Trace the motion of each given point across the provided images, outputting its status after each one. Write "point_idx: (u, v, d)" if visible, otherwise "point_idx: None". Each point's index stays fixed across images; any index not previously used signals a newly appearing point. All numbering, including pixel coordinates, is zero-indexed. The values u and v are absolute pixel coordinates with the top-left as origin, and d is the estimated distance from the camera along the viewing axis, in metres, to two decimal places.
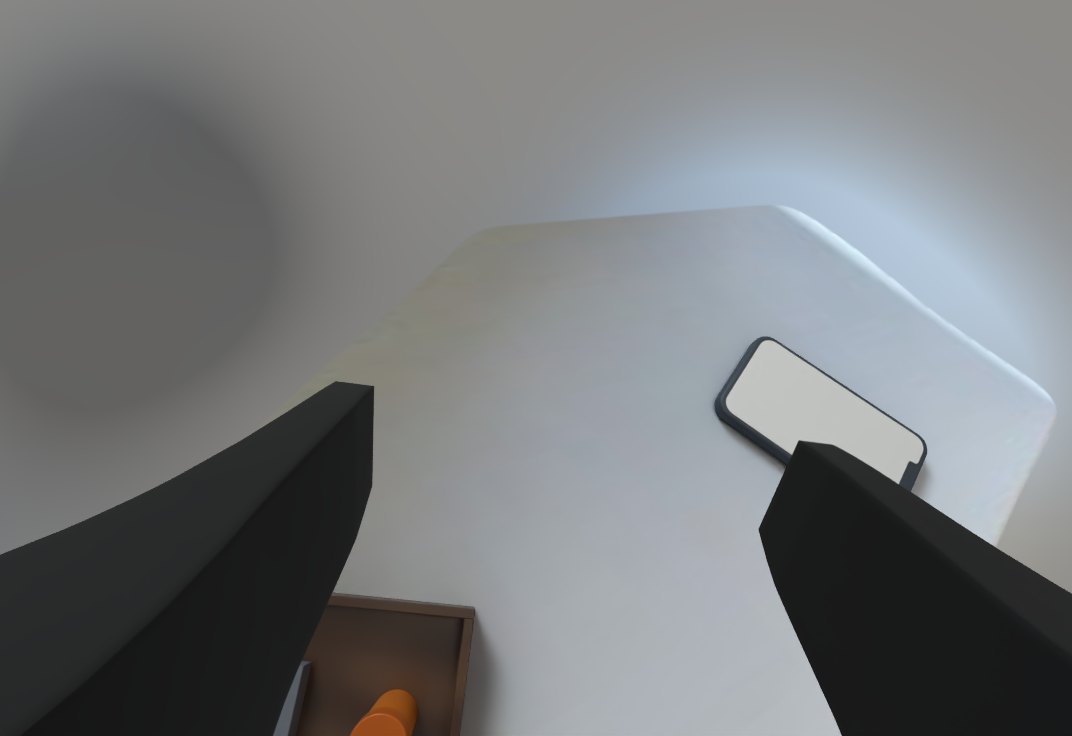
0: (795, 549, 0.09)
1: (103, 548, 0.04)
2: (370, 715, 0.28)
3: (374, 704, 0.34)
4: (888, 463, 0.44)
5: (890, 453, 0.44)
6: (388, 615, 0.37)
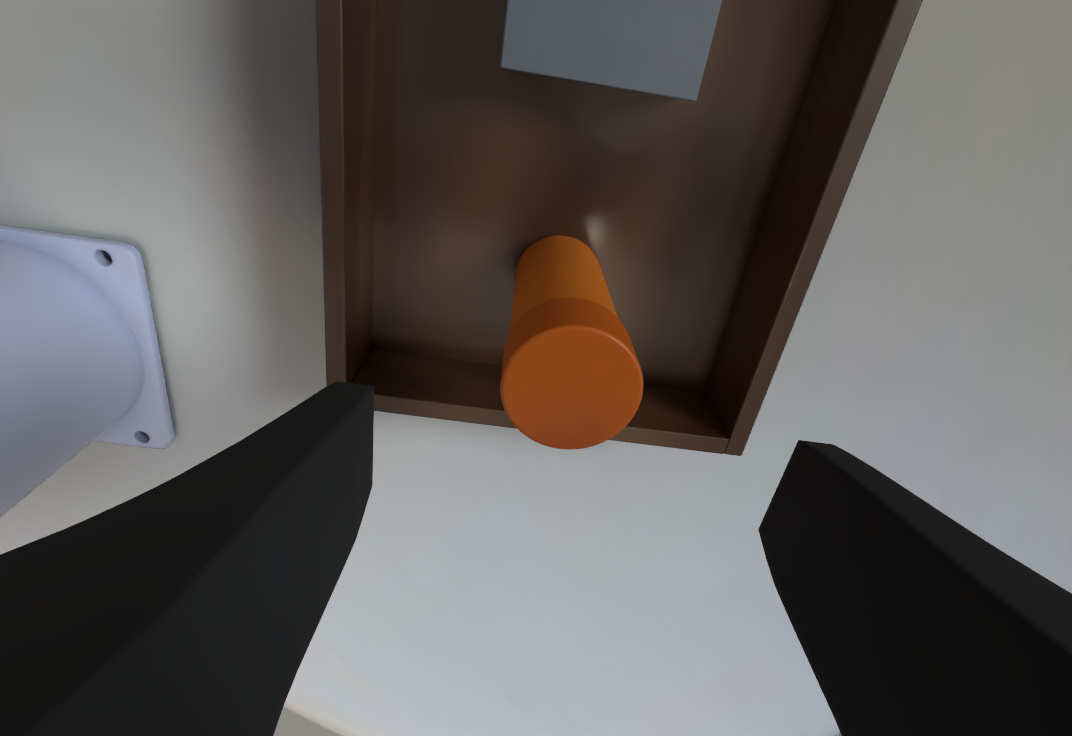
0: (795, 549, 0.09)
1: (103, 548, 0.04)
2: (640, 372, 0.11)
3: (591, 259, 0.16)
4: None
5: None
6: (735, 258, 0.18)
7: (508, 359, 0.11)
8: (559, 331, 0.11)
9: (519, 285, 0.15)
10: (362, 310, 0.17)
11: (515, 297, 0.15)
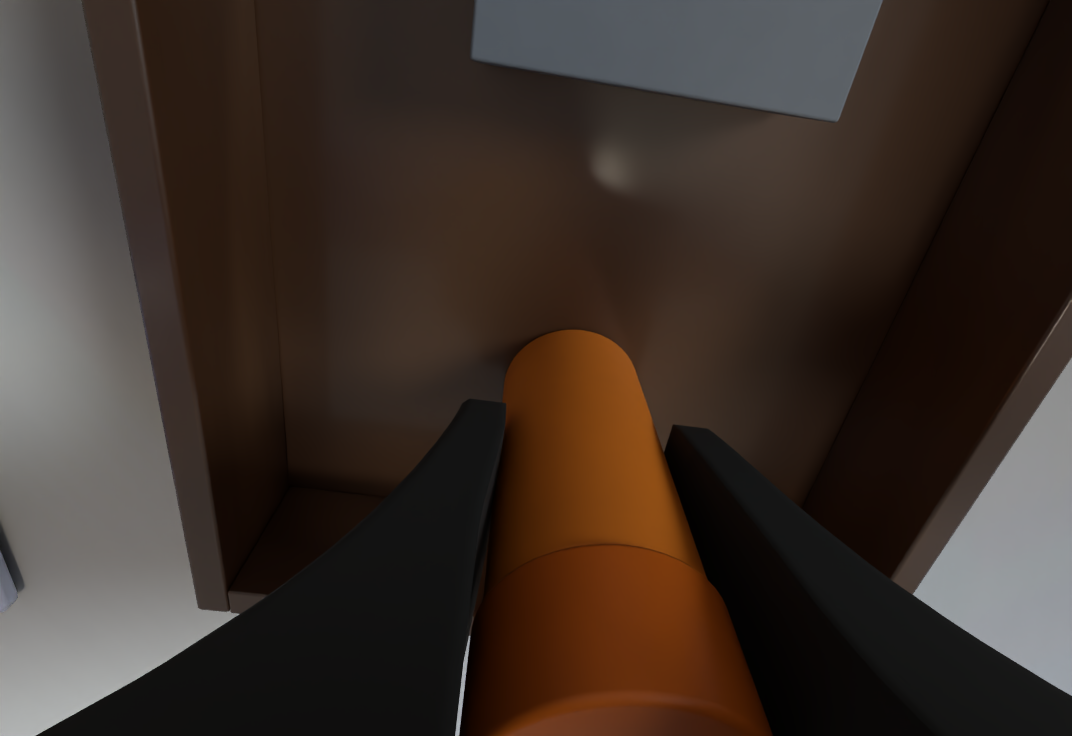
0: None
1: (372, 576, 0.05)
2: None
3: (628, 380, 0.10)
4: None
5: None
6: (851, 361, 0.11)
7: None
8: (594, 709, 0.04)
9: (507, 440, 0.09)
10: (260, 450, 0.11)
11: (499, 466, 0.08)
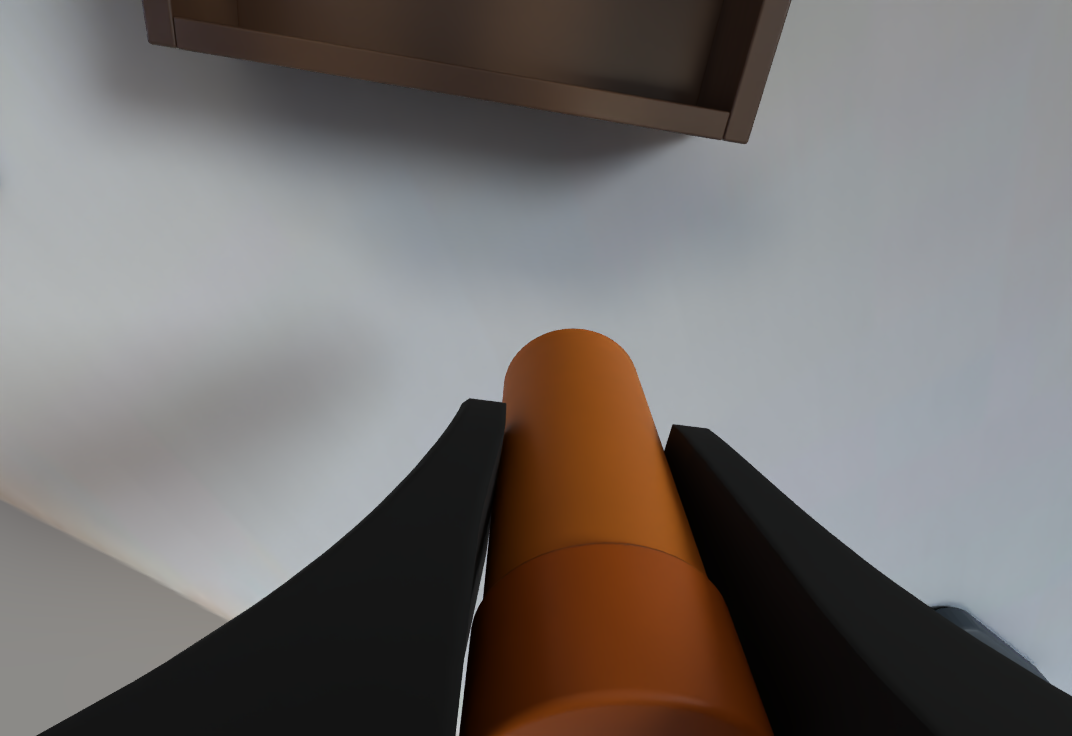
0: None
1: (372, 576, 0.05)
2: None
3: (628, 379, 0.10)
4: None
5: None
6: None
7: None
8: (595, 707, 0.04)
9: (507, 439, 0.09)
10: None
11: (499, 465, 0.08)
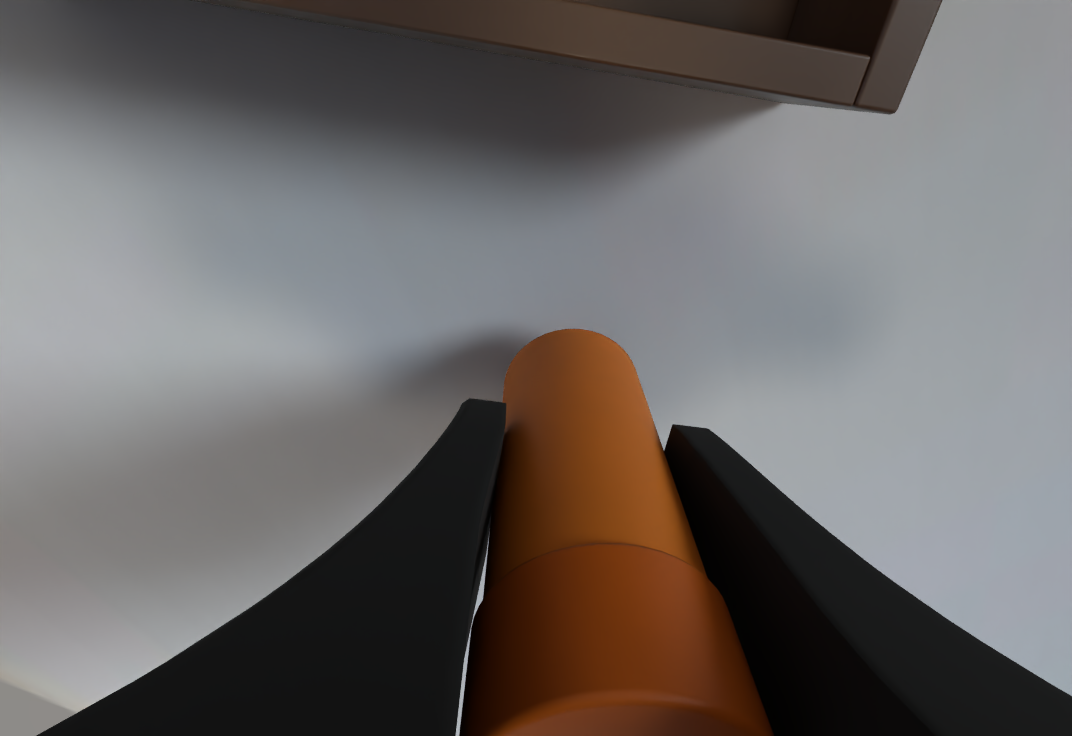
0: None
1: (371, 576, 0.05)
2: None
3: (628, 379, 0.10)
4: None
5: None
6: None
7: None
8: (594, 707, 0.04)
9: (507, 439, 0.09)
10: None
11: (499, 466, 0.08)
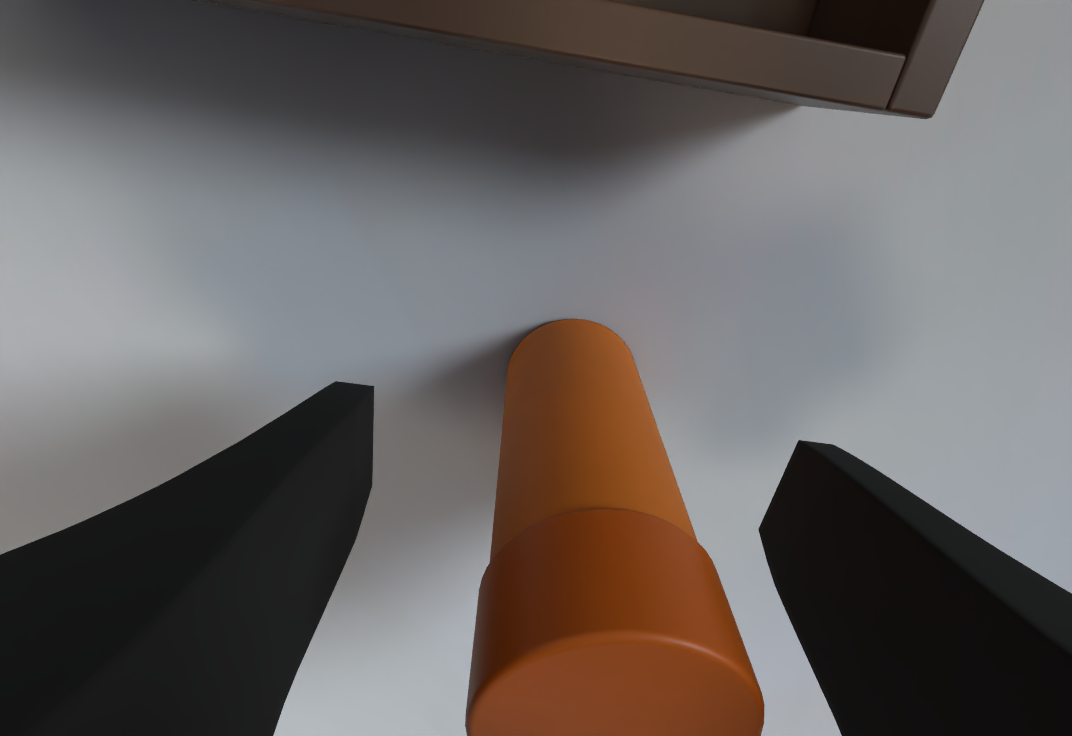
0: (795, 549, 0.09)
1: (103, 549, 0.04)
2: (760, 699, 0.05)
3: (626, 366, 0.10)
4: None
5: None
6: None
7: (481, 680, 0.05)
8: (592, 645, 0.05)
9: (511, 421, 0.09)
10: None
11: (504, 445, 0.09)
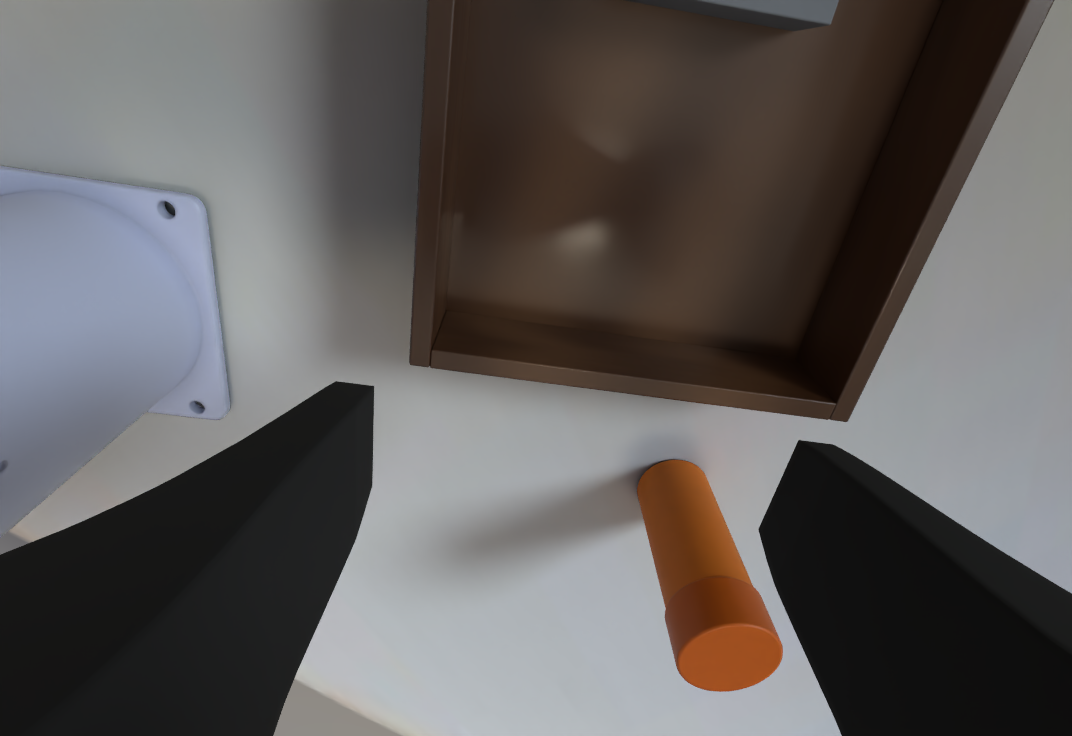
0: (795, 549, 0.09)
1: (103, 548, 0.04)
2: (781, 647, 0.16)
3: (708, 492, 0.20)
4: None
5: None
6: (841, 210, 0.17)
7: (685, 640, 0.15)
8: (727, 627, 0.15)
9: (658, 524, 0.19)
10: (445, 265, 0.16)
11: (657, 537, 0.19)
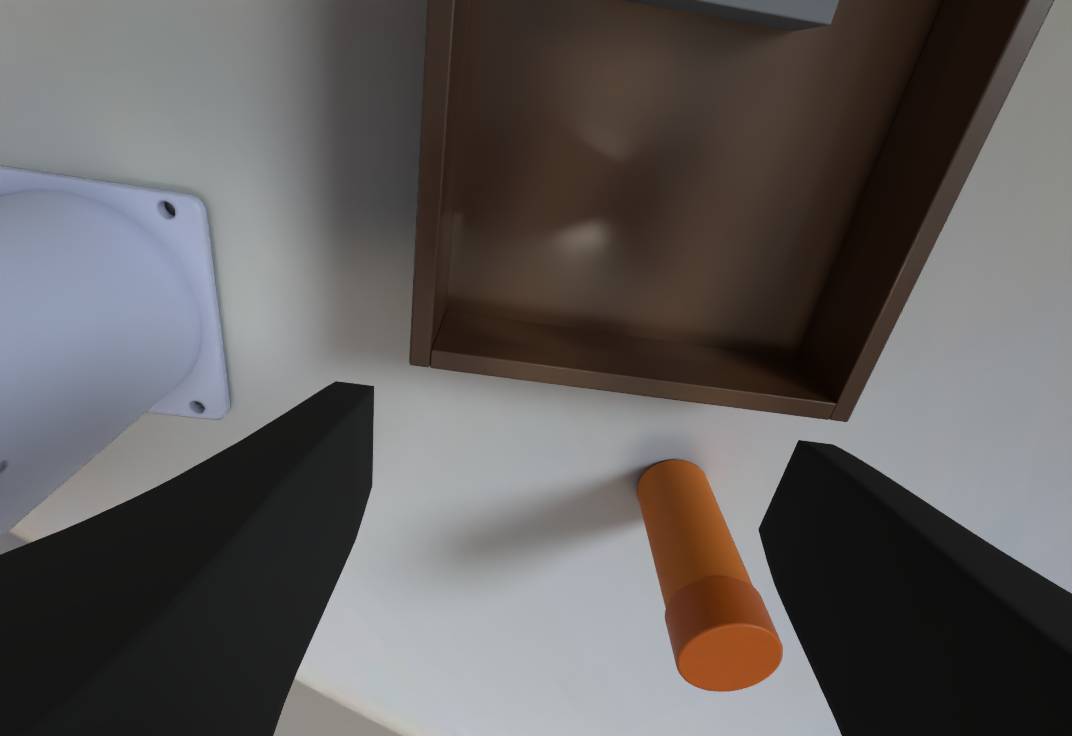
0: (795, 549, 0.09)
1: (103, 548, 0.04)
2: (781, 647, 0.16)
3: (708, 492, 0.20)
4: None
5: None
6: (841, 210, 0.17)
7: (685, 640, 0.15)
8: (727, 627, 0.15)
9: (658, 524, 0.19)
10: (445, 265, 0.16)
11: (657, 537, 0.19)
